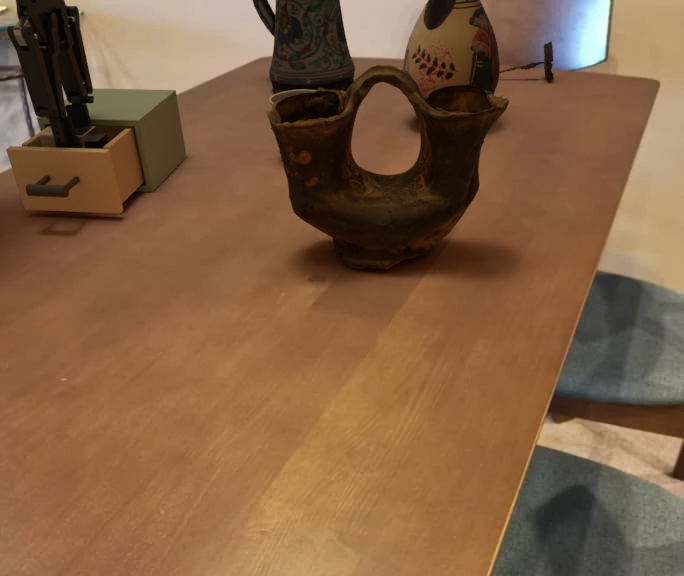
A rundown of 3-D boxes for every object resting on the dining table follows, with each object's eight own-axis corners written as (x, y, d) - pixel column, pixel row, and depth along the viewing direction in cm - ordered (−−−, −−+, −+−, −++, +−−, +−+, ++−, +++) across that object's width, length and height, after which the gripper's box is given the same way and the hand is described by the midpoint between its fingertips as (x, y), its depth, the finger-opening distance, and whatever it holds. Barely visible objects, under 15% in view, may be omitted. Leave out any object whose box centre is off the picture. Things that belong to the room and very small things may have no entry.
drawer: (104, 229, 90) (88, 166, 85) (6, 225, 92) (-16, 162, 87) (156, 176, 104) (145, 118, 99) (70, 173, 106) (55, 116, 101)
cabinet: (152, 192, 102) (138, 120, 96) (56, 188, 104) (36, 117, 98) (186, 156, 113) (175, 89, 106) (98, 154, 115) (83, 88, 108)
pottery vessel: (484, 232, 89) (504, 52, 76) (496, 273, 81) (521, 79, 68) (282, 235, 90) (267, 57, 77) (273, 276, 82) (255, 84, 69)
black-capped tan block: (48, 169, 96) (38, 134, 93) (61, 158, 99) (52, 124, 96) (102, 171, 95) (93, 136, 92) (114, 160, 97) (106, 126, 95)
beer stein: (354, 99, 134) (351, -67, 118) (250, 101, 135) (233, -63, 118) (356, 76, 146) (354, -77, 130) (261, 78, 147) (247, -74, 131)
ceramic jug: (448, 105, 130) (461, -106, 110) (512, 125, 120) (540, -102, 101) (374, 125, 122) (375, -98, 102) (438, 148, 113) (452, -93, 93)
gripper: (20, -40, 74) (79, 187, 90) (90, -60, 87) (132, 142, 102) (-47, -40, 75) (23, 185, 91) (32, -59, 88) (82, 141, 103)
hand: (81, 162), depth 96 cm, fingers closed on black-capped tan block, 4 cm apart
